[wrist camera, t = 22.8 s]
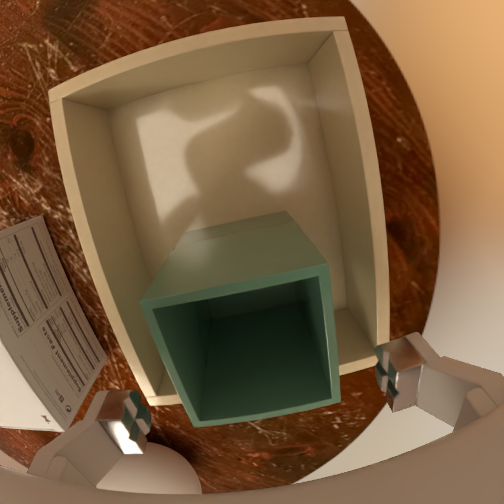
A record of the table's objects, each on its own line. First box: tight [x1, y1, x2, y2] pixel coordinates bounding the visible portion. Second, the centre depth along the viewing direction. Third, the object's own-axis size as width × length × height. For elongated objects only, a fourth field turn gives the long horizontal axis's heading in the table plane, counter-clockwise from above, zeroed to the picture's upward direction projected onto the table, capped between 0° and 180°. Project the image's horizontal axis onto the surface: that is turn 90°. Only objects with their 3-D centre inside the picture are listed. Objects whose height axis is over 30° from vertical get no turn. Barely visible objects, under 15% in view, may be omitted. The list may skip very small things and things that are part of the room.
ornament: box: [96, 442, 202, 494], centre depth 22 cm, size 10×10×12 cm
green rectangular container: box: [139, 211, 341, 427], centre depth 16 cm, size 12×7×12 cm
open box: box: [48, 17, 390, 406], centre depth 17 cm, size 19×15×7 cm
